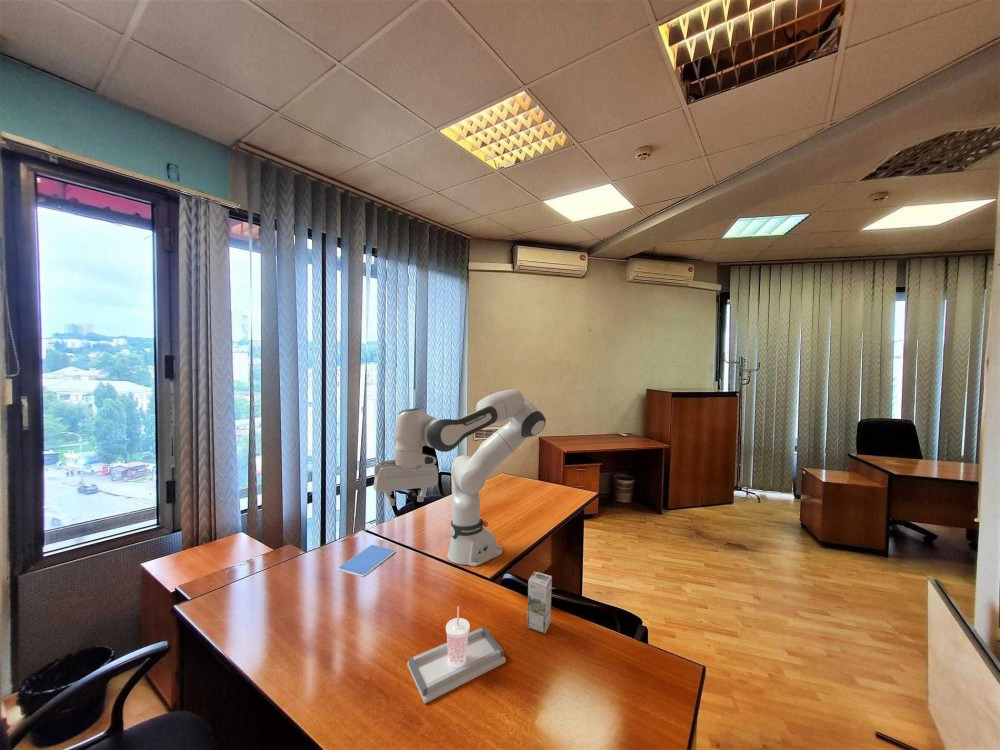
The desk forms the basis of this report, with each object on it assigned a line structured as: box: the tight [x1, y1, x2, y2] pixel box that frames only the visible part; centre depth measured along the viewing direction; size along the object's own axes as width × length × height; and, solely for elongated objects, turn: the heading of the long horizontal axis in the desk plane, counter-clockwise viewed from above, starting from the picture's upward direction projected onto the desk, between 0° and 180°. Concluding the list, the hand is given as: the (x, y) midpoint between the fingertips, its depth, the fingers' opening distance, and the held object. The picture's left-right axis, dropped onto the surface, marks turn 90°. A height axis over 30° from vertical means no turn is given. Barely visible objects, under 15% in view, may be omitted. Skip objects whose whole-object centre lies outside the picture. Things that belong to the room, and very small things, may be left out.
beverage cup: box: [445, 605, 471, 668], centre depth 92 cm, size 6×6×14 cm
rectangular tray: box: [406, 626, 506, 704], centre depth 92 cm, size 22×12×2 cm, turn 123°
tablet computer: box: [336, 544, 396, 578], centre depth 139 cm, size 19×13×1 cm, turn 160°
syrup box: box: [526, 571, 553, 634], centre depth 106 cm, size 6×6×14 cm
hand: (406, 503), depth 113 cm, fingers open, 8 cm apart
